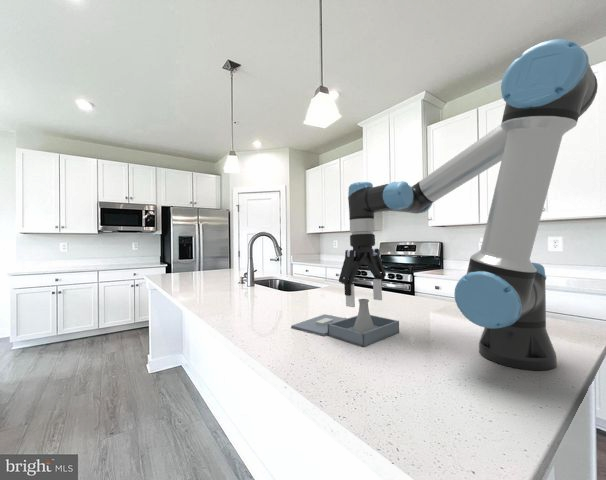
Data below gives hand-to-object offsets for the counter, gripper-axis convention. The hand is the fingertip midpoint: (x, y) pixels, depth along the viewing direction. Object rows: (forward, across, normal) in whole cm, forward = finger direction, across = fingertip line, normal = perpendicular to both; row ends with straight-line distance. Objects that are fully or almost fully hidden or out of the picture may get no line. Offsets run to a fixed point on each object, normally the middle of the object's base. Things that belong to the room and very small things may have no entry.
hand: (364, 303), depth 90 cm
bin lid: (+9, +2, -16) cm, 18 cm away
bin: (+10, 0, -1) cm, 10 cm away
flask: (+9, 0, -1) cm, 9 cm away
